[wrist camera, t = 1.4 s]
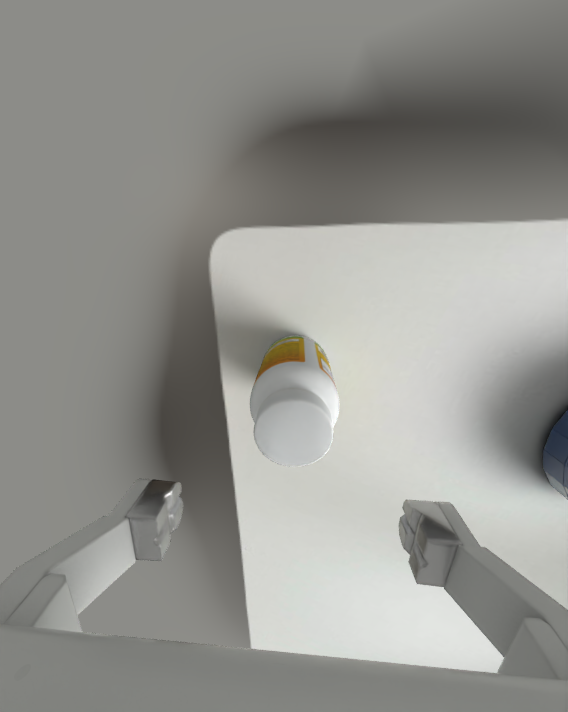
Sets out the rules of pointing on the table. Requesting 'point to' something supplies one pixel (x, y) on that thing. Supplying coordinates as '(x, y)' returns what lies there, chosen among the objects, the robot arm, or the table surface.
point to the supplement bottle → (294, 402)
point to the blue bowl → (557, 456)
